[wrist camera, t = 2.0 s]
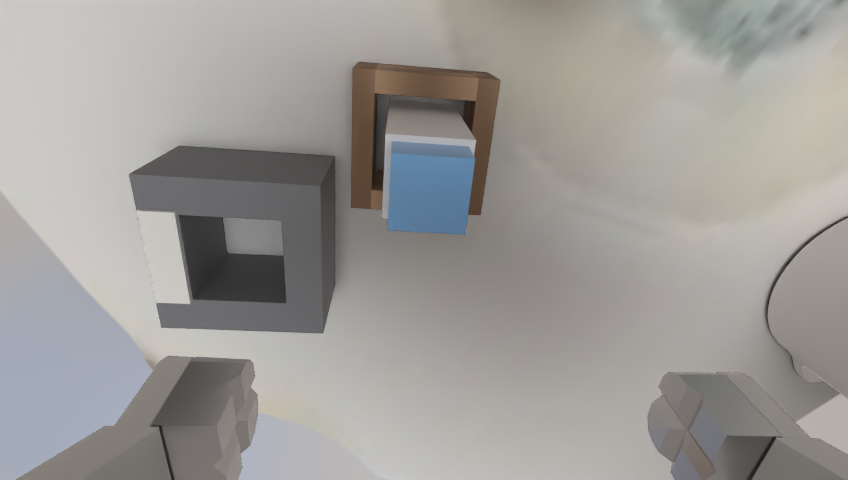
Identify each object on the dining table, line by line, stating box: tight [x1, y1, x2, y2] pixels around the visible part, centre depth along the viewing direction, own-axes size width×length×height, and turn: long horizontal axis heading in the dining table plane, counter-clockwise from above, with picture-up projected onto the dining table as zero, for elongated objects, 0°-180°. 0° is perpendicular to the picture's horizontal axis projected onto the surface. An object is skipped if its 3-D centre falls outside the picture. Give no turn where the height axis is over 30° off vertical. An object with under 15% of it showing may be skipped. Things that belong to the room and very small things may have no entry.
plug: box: [382, 98, 476, 235], centre depth 24 cm, size 4×4×12 cm
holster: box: [351, 62, 500, 215], centre depth 28 cm, size 8×8×4 cm
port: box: [129, 146, 335, 333], centre depth 29 cm, size 10×10×6 cm
